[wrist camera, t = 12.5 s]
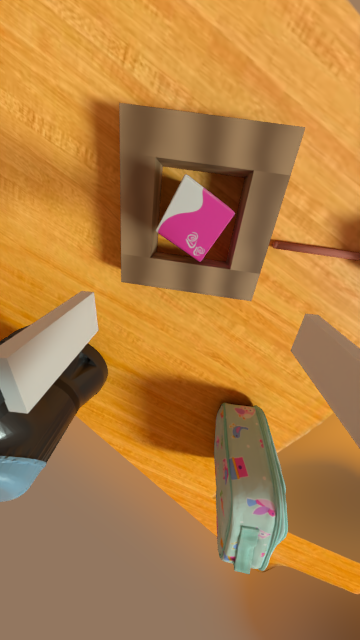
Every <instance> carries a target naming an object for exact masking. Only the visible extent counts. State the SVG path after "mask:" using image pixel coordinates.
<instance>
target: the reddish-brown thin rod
mask: <svg viewBox="0 0 360 640" xmlns="http://www.w3.org/2000/svg"><path fill="white" fill-rule="evenodd" d="M272 246H273V248H276V249H283V250H290V251H297V252H304V253H311V254H318V255H325V256H332V257H339V258H346V259H353V260H360V253H357V252H350V251H343V250H336V249H328V248H321V247H314V246H307V245H300V244H293V243H286V242H279V241H275V242H274V243H273V244H272Z"/></svg>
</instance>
